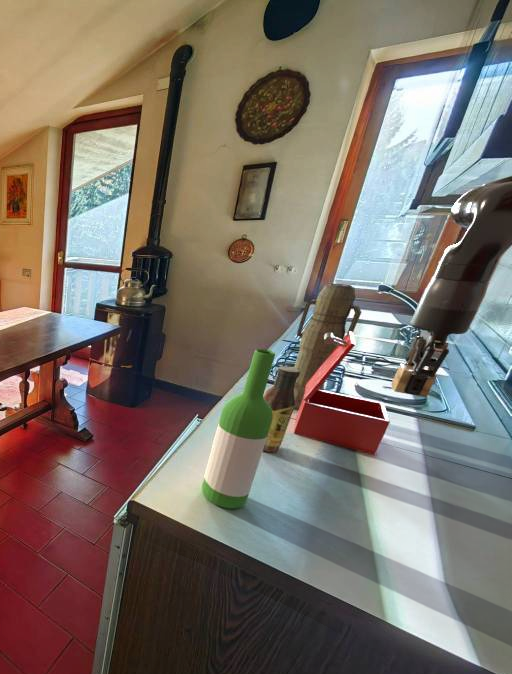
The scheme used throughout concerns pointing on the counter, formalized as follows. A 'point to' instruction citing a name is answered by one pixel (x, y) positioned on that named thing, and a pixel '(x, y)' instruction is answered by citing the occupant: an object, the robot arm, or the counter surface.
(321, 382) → the red box lid
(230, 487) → the wine bottle
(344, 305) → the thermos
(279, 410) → the sauce bottle
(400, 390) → the block
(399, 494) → the counter surface
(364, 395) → the counter surface
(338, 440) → the red box
